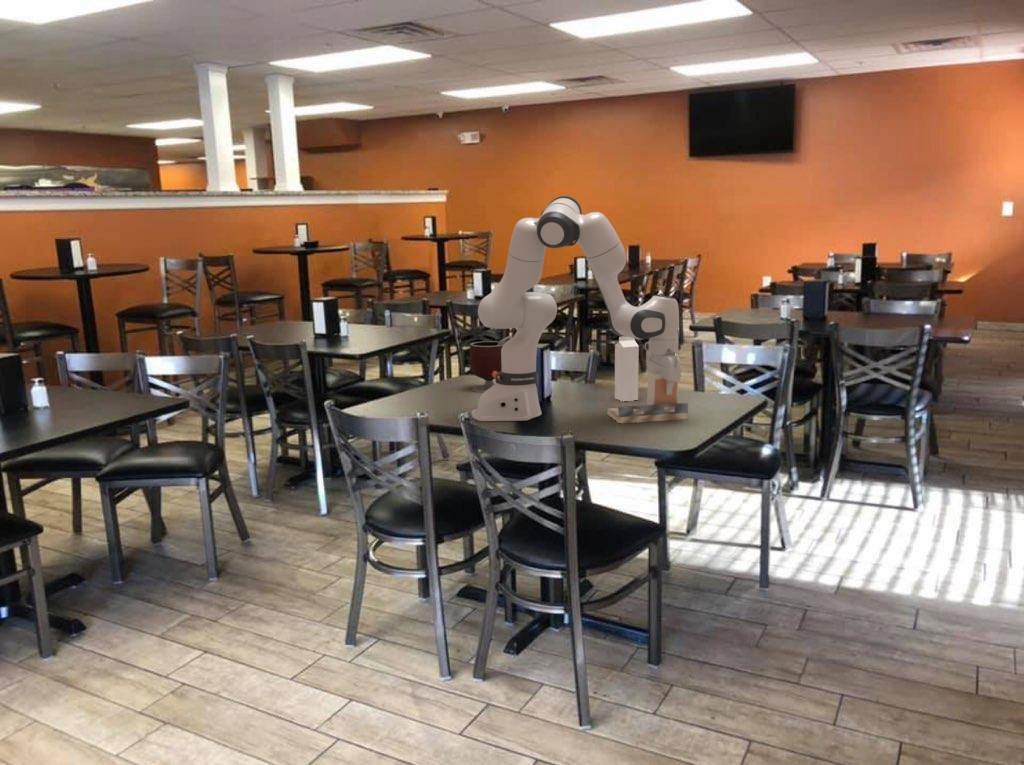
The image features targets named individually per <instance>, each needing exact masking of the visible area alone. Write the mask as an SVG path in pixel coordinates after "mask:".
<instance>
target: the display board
mask: <svg viewBox="0 0 1024 765" xmlns="http://www.w3.org/2000/svg"><path fill="white" fill-rule="evenodd" d="M688 408H689V404H688V402H680V403H679V402H678V403H674V404H658V405H647V404H644V405H643V404H642V405H627V406H626V405H625V406H618V407H615V408H607V416H609V418H611V417H612V418H611V419H613V421H615V420H616V421H615V422H617V423H618V424H619V423H621V424H632V423H633V424H634V423H635V422H636V423H648V422H651V423H653V422H662V421H663V422H665V421H679V420H680V421H681V420H688V418H689V417H688V410H689V409H688ZM636 423H635V424H636Z"/></svg>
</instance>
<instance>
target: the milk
mask: <svg viewBox="0 0 1024 765" xmlns="http://www.w3.org/2000/svg"><path fill="white" fill-rule="evenodd" d="M639 348H640V346H639V344H638V343H637V342H636V338H631V337H624V336H619V338H618V342H617V343H615V344H614V399H615V400H617V399H618V400H617V401H619V400H620V401H619V402H622V401H623V402H622V403H625V402H624V401H628V402H635V401H634V400H639V357H640V356H639V355H640V353H639V351H640V349H639Z"/></svg>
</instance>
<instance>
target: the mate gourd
mask: <svg viewBox="0 0 1024 765" xmlns="http://www.w3.org/2000/svg"><path fill="white" fill-rule="evenodd" d="M512 338H513V336H512V335H509V336H506V337H504V338H502V339H501V340H499V341H496V340H494V341H493V340H492V341H491V340H489V341H488V340H487V341H486V340H485V341H475V342H472V343H470V349H469V365H470V369H471V372H472V373H473V374H474V375H475V377H478V378H480V379H483V380H484V384H482V385H476V386H474V387H472V391H473V392H475V393H482V394H483V393H484V392H485V391H487V390H488V389H489V388H490V387H492V386H493V385H494V384H495V383H494V380H495V378H494V377H493V376H492V373H494V371H497V372H498V373H499V372H500V371H502V365H501V349H502V347H503V345H504V344H505V343H506V342H507V341H508V340H510V339H512Z"/></svg>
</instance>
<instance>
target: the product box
mask: <svg viewBox="0 0 1024 765" xmlns="http://www.w3.org/2000/svg"><path fill="white" fill-rule="evenodd" d="M666 386H667V384H666V380H664V379H662V378H661V374H659V373H657V372H655V371H651V372H648V371H647V395H646V396H647V398H646V400H647V402H646V405H658V404H674V403H679V400H678V399H679V382H674V386H673V389H672V394H671V395H667V394H666V393H665V388H666Z"/></svg>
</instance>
